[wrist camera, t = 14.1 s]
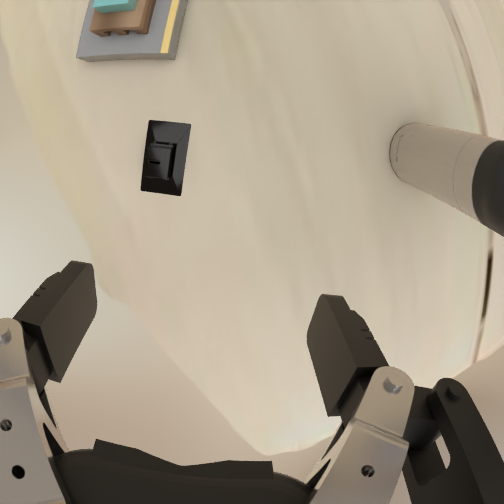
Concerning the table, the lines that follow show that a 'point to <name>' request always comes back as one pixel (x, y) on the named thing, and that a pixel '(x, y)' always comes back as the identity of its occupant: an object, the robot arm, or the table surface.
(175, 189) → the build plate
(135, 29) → the pallet
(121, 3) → the teal rectangular block
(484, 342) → the table surface
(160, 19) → the dock
